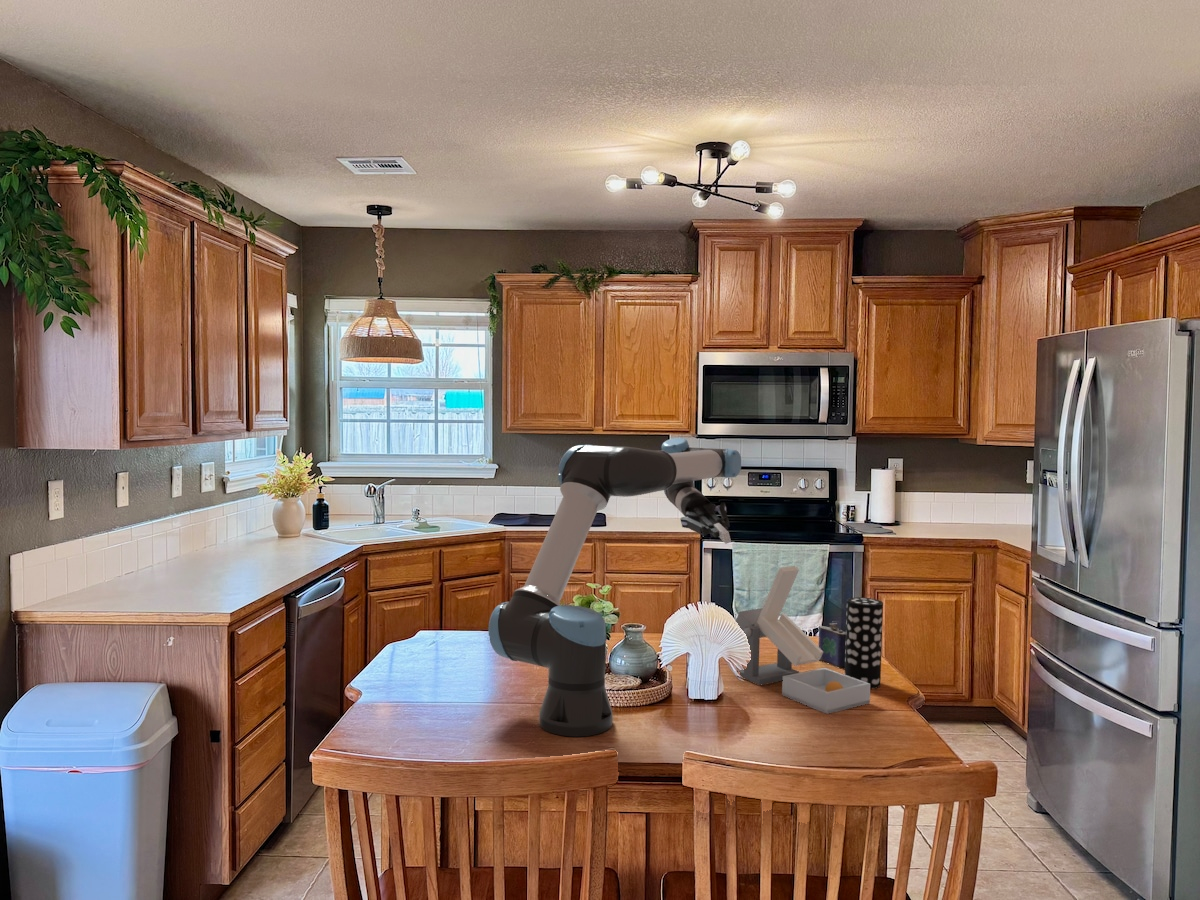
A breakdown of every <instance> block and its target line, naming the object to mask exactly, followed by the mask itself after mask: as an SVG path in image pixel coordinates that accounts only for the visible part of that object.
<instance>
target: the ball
mask: <svg viewBox="0 0 1200 900" xmlns="http://www.w3.org/2000/svg"><path fill="white" fill-rule="evenodd" d="M842 688H843V687H842V685H841V684H840V683H838V682H835V681H832V682H829V683H828V684H827V685H826V688H825V691H827V692H829V691H834V690H838V689H842Z"/></svg>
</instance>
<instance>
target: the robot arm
mask: <svg viewBox="0 0 1200 900" xmlns="http://www.w3.org/2000/svg"><path fill="white" fill-rule="evenodd" d="M688 441H689V440H687V439H686V438H683V437H676V438H675V437H674V438H670V439H667V440H665V441H664V442H662V444H661V450H659V449H658V450H655V449H654V450H653V449H646V448H645V449H644V448H639V447H633V446H632V447H631V446H619V445H617V446H615V445H614V446H613V445H612V446H611V445H610V446H609V445H595V444H592V443H591V444H590V443H589V444H578V445H575V446H572V447H570V448H569V449H568V450H567V451H566V452H565V453H564V454H563V456H562V457H561V459H560V462H559V465H558V468H557V469H558V470H557V471H558V472H559V473H558V474H557V479H558V483H559V485H560V487H559V488H560V493H561V495H562V496H563V497H562V499H561V501H560V503H559V506H558V507H557V510H556V512H555V515H554V517H553V520H552V521H551V524H550V527H549V528H548V531H547V533H546V536H545V537H544V540H543V542H542V543H541V547H540V549H539V551H538V554H537V556H536V558H535V560H534V563H533V565H532V567H531V569H530V571H529V574H528V577H527V579H526V581H525V583H524V585H523V586H522V587H520V588H516V589H515V590H514V591H513V593H512V594H511V598H510V600H509V601H505V602H501V603H500V604H498V605H496V606H495V607H494V609H493V611H492V612H491V615H490V617H489V621H488V636H489V642H490V643H489V644H490V645H491V647H492V649H493V651H494V652H495V653H496V654H497V655H499V657H503V658H505V659H509V660H510V661H512V662H521V663H526V664H530V665H534V666H538V667H543V668H547V669H548V676H547V677H548V684H547V688H546V691H545V693H544V694H545V695H544V697H543V701H542V702H541V703H542V704H541V706H540V709H539V713H538V715H539V716H538V717H539V718H538V725H539V726H540V727H541V729H543V730H544V731H546V732H548V733H551V734H554V735H558V736H564V737H589V736H594V735H598V734H602V733H604V732H606V731H609V729H611V728H612V726H613V721H614V720H613V716H614V714H613V710H612V706H611V703H610V700H609V696H608V693H607V689H606V686H605V685H606V683H605V682H606V679H605V678H606V651H607V650H606V648H607V647H606V646H607V645H606V644H607V637H608V636H607V633H606V632H607V631H606V630H607V629H606V621H605V619H604V617H603V615H602V614H601V613H599V612H598V611H596V610H594V609H591V608H589V607H585V606H581V605H571V604H561V600H562V597H563V596H564V592H565V589H566V588H567V585H568V582H569V580H570V578H571V575H572V573H573V571H574V568H575V566H576V563H577V561H578V559H579V556H580V554H581V551H582V549H583V546H584V544H585V542H586V539H587V537H588V534H589V532H590V529H591V527H592V524H593V522H594V519H595V517H596V515H597V512H599V511H601V510H604V509H605V508H606V507H607V505H608V503H609V500H610V498H611V497H612V496H613V497H622V498H623V497H628V498H629V497H636V496H642V495H646V494H652V493H656V492H661V491H664V495H665V497H666V499H668V501H669V502H670V503H671V505H673V506H674V507H675V508H676V509H678V511H679V512H680V513H682V515H683V516H681V517H680V518H679V519H680V525H681V527H682V528H684V529H690V530H691V531H693V532H695V533H697V534H699V535H701V536H704V537H706V536H708V534H710V537H711V538H719V539H720V540H721V541H722V542H723V543H724V544H725V545H726V544H729V543H731V542H732V540H731V536H730V532H729V528H730V527H731V525H730V520H729V517H728V514H727V513H728V511H727V506H726V503H725V502H721V503H720V505H716V504H715V503H712V502H711V501H710V500H709V499H708V498H707V497H706V496H705V495H704V494H703V493H702V492H701V491H700V490H698V489H697V488H696V487H695V483H694V482H695V481H701V480H707V479H714V478H725V479H728V478H736V477H738V476H739V474H740V472H741V470H742V456H741V454H740V452H739V451H738V450H737V449H729V448H705V447H691V446H690V444H689V442H688ZM717 512H718V514H719V515H720V517H721V518H720V517H719V516H718V515H717V514H716V513H717ZM547 595H548V596H547Z"/></svg>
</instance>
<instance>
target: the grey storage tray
mask: <svg viewBox="0 0 1200 900" xmlns="http://www.w3.org/2000/svg"><path fill="white" fill-rule="evenodd" d="M832 681H835V682H838V683H840V684H841V685H842V687H843V688H842V689H838V690H834V691H829V692H827V691H825V688H826V685H827V684H828V683H829V682H832ZM781 684H782V686H781V687H782V689H781V692H782V693H781V696H782V695H783V696H782V697H784V696H786V697H785V698H787V697H788V698H787V699H789V698H790V699H789V700H791V701H794V700H795V701H794V702H796V701H797V703H799V702H800V704H801V703H802V704H801V705H804V706H806V705H807V706H806V707H808V708H812V709H814V710H816V711H819V712H821V713H823V714H827V715H829V713H830V714H834V713H837V712H840V711H845V710H849V709H853V707H854V708H858V707H861V705H862V706H865V704H866V705H868V704H869V703H870V702H871V701H870V700H871V689H870V683H867V682H864V681H861V680H858V679H855V678H853V677H850V676H847V675H845V673H844V674H843V673H841V672H838V671H835V670H833V669H830V668H826V667H821V668H817V669H816V668H815V669H812V670H811V669H810V670H808V671H802V672H799V673H796V674H791V675H786V676H783V681H781ZM857 706H858V707H857Z"/></svg>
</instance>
